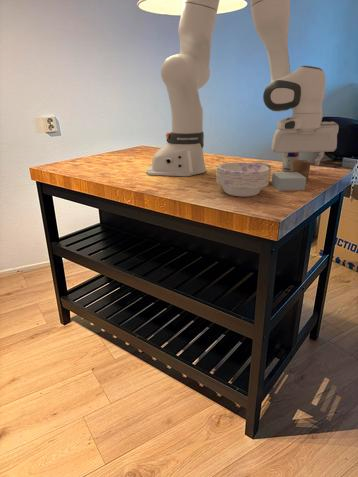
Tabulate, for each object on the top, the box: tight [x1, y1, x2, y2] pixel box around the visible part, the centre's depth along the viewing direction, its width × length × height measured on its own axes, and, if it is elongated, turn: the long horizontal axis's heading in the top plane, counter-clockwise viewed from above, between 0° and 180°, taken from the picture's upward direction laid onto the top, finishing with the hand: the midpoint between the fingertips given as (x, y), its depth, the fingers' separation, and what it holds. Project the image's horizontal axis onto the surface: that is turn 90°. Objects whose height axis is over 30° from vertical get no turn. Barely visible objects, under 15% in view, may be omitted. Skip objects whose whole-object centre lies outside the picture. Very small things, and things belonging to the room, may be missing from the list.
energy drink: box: [281, 152, 300, 172], centre depth 130 cm, size 5×5×12 cm
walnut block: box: [290, 159, 311, 182], centre depth 119 cm, size 5×5×6 cm
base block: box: [271, 171, 307, 192], centre depth 110 cm, size 8×8×4 cm
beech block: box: [253, 161, 272, 184], centre depth 116 cm, size 5×5×6 cm
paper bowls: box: [215, 162, 271, 198], centre depth 104 cm, size 15×15×8 cm
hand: (301, 165), depth 118 cm, fingers open, 8 cm apart
